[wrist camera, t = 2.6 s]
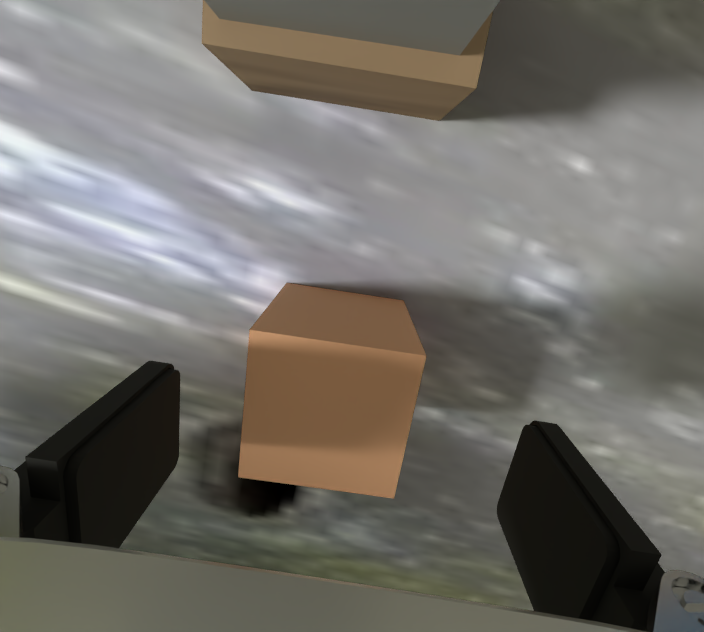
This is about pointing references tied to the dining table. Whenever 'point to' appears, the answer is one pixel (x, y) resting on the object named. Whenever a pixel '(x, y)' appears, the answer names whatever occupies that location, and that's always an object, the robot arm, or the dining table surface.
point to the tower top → (369, 19)
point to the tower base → (346, 67)
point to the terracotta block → (330, 391)
